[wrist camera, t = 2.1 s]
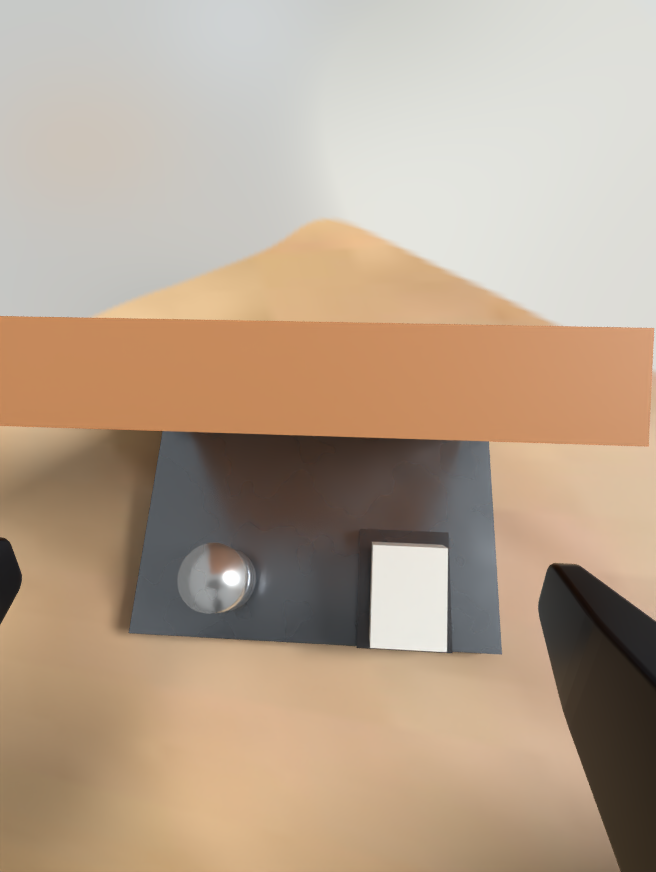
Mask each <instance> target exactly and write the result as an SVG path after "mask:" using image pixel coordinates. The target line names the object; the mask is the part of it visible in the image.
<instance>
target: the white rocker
mask: <svg viewBox="0 0 656 872" xmlns="http://www.w3.org/2000/svg"><path fill="white" fill-rule="evenodd" d="M447 592H448V548H447V547H445V546H443V545H435V544H412V543H390V542H372V553H371V589H370V626H369V641H370V648H380V649H398V650H415V651H433V652H447Z"/></svg>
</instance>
